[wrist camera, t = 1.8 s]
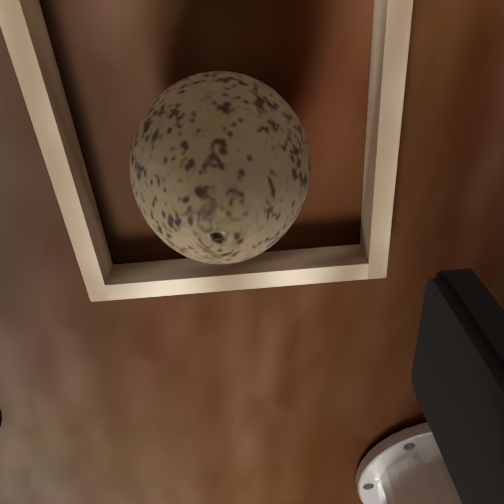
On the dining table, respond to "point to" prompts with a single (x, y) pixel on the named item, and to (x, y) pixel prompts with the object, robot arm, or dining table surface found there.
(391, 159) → the frame
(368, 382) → the dining table surface
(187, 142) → the decorative egg
